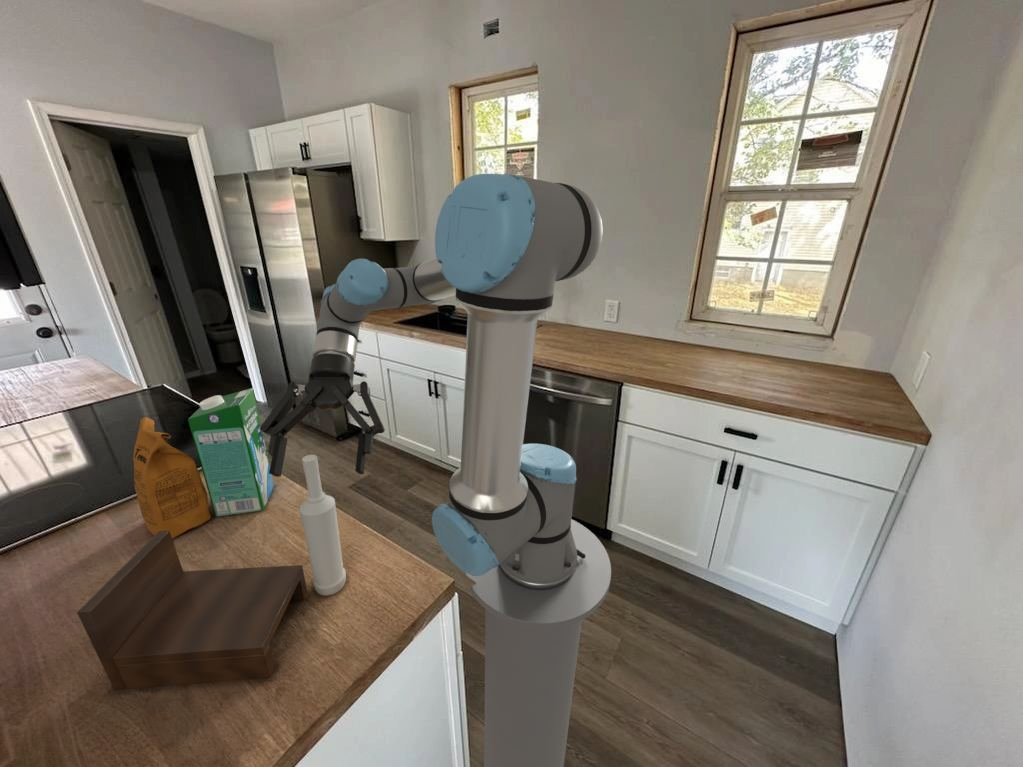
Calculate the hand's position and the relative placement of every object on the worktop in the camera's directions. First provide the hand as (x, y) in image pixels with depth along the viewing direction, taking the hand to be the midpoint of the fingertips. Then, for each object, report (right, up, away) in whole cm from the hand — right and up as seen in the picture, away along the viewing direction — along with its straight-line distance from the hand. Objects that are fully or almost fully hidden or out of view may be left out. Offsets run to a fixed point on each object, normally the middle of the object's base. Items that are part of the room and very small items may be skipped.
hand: (317, 473), depth 69 cm
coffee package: (-36, -13, +16) cm, 41 cm away
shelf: (-10, -23, -7) cm, 26 cm away
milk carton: (-26, -11, +22) cm, 36 cm away
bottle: (+1, -20, +2) cm, 20 cm away
